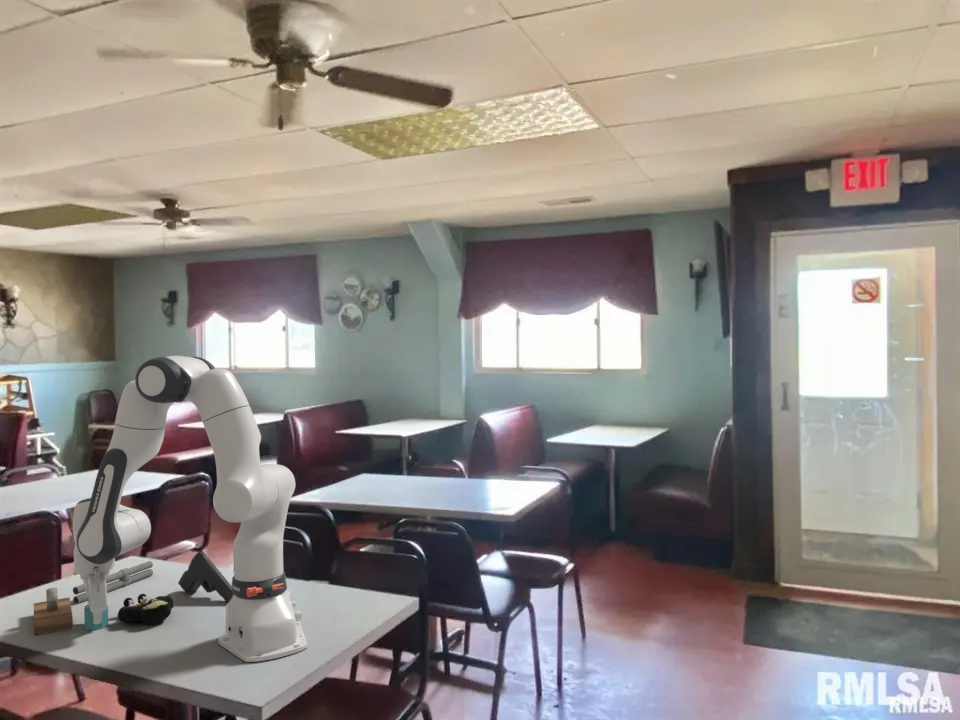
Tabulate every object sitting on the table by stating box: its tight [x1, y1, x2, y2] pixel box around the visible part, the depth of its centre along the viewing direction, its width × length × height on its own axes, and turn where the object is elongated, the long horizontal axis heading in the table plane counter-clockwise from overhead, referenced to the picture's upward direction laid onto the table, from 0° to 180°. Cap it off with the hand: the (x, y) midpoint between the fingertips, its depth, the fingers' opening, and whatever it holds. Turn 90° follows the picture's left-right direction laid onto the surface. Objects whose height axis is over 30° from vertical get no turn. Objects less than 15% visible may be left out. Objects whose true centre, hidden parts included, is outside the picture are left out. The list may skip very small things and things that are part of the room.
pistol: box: [177, 550, 233, 605], centre depth 199 cm, size 18×4×13 cm
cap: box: [83, 603, 109, 631], centre depth 179 cm, size 5×5×5 cm
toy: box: [117, 593, 174, 625], centre depth 183 cm, size 12×8×15 cm
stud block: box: [33, 587, 74, 636], centre depth 183 cm, size 16×8×8 cm, turn 32°
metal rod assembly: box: [72, 560, 154, 604], centre depth 207 cm, size 26×3×5 cm, turn 158°
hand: (96, 619), depth 179 cm, fingers open, 5 cm apart
